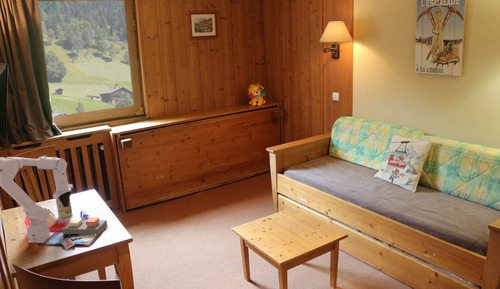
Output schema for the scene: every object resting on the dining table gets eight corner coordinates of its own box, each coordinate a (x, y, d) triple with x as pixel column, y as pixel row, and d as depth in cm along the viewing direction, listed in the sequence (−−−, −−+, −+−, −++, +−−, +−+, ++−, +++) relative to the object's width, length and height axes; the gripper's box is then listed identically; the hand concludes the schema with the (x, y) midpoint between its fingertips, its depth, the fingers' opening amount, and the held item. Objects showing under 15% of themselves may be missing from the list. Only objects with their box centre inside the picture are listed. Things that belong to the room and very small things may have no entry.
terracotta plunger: (95, 230, 207) (94, 221, 206) (87, 230, 208) (85, 221, 207) (100, 226, 212) (98, 217, 210) (91, 226, 212) (90, 217, 211)
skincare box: (61, 219, 225) (56, 197, 222) (58, 216, 228) (54, 195, 225) (73, 215, 229) (69, 193, 226) (70, 212, 232) (66, 191, 229)
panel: (97, 235, 205) (96, 229, 204) (63, 234, 207) (62, 229, 206) (107, 225, 214) (106, 220, 213) (74, 225, 217) (73, 219, 216)
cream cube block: (78, 231, 209) (77, 223, 207) (70, 231, 209) (68, 222, 208) (83, 227, 213) (82, 218, 212) (75, 227, 214) (73, 218, 212)
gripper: (60, 186, 204) (65, 212, 208) (76, 176, 218) (80, 200, 222) (47, 186, 205) (52, 212, 209) (63, 176, 219) (68, 200, 223)
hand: (66, 206), depth 215 cm, fingers closed
